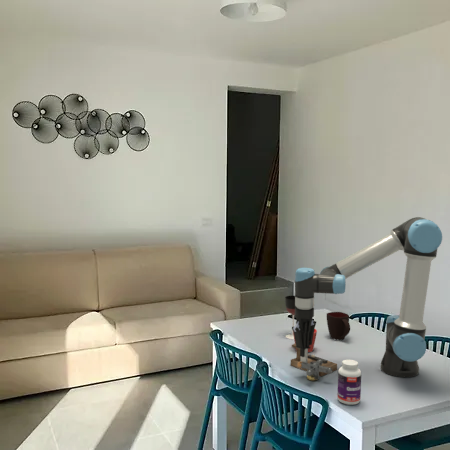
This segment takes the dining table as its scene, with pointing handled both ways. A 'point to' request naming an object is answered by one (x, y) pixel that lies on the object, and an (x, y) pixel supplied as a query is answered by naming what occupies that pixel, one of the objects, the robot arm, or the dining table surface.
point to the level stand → (310, 359)
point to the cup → (338, 325)
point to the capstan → (314, 369)
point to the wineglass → (290, 311)
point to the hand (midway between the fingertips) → (303, 363)
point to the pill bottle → (349, 383)
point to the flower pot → (312, 341)
